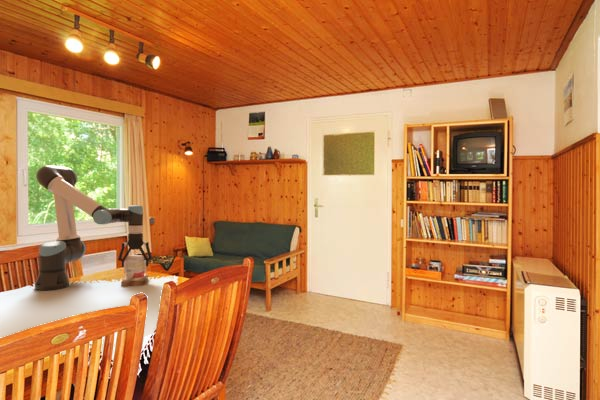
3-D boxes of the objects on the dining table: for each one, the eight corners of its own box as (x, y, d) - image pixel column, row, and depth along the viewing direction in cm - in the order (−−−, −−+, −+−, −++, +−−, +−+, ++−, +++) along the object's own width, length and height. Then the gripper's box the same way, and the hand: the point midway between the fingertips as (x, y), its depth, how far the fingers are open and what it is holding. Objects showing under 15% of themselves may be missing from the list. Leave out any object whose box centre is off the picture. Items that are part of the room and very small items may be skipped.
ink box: (144, 275, 206) (145, 255, 205) (139, 277, 201) (139, 256, 201) (131, 274, 208) (132, 254, 207) (125, 276, 203) (125, 255, 203)
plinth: (121, 286, 196) (121, 279, 196) (125, 280, 209) (125, 274, 209) (145, 285, 200) (145, 278, 199) (147, 279, 213) (147, 273, 213)
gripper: (112, 234, 197) (111, 274, 197) (156, 233, 204) (156, 272, 204) (114, 232, 204) (114, 271, 204) (157, 231, 211) (157, 270, 211)
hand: (135, 272), depth 204 cm, fingers open, 10 cm apart
